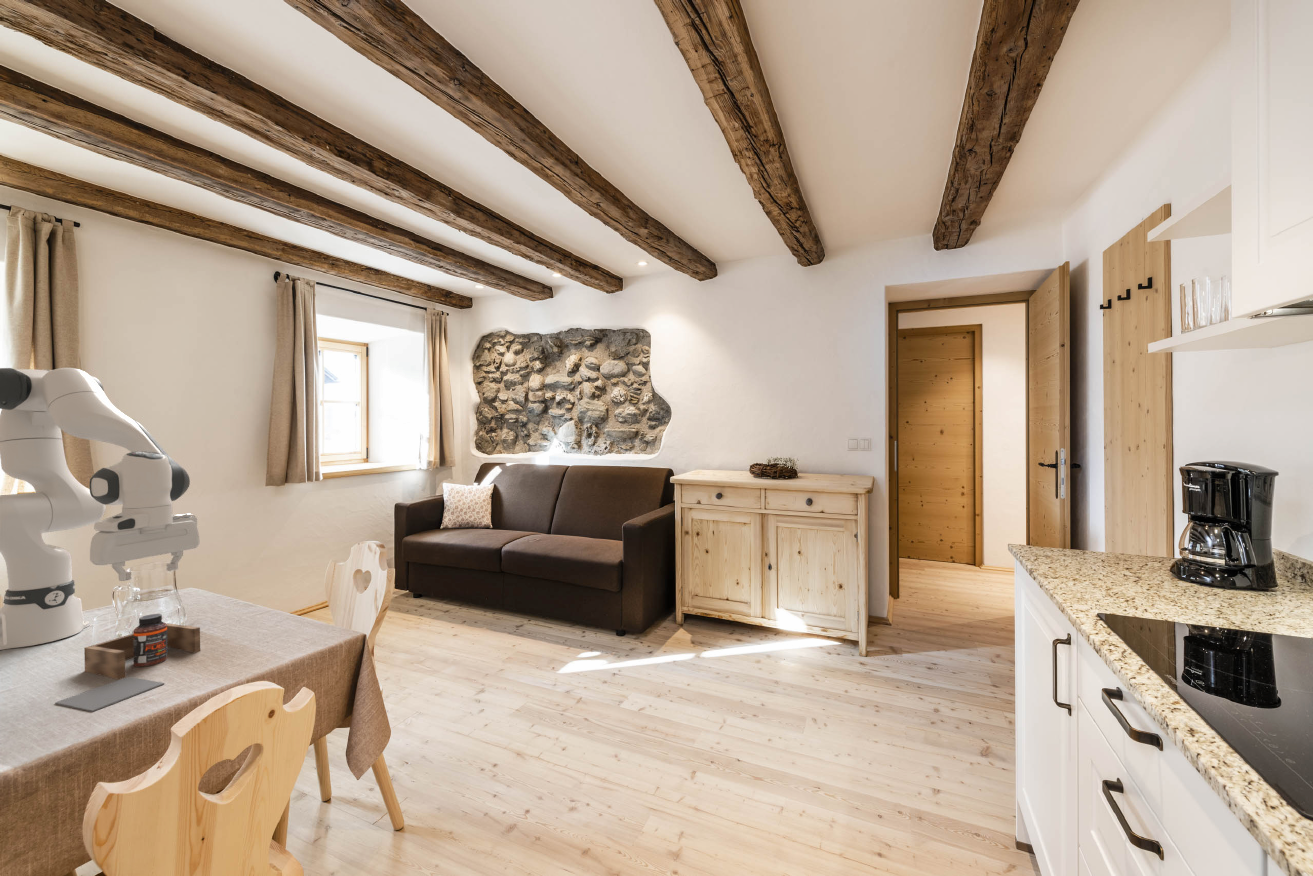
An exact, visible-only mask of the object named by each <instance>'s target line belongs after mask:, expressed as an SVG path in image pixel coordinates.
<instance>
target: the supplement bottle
mask: <svg viewBox="0 0 1313 876" xmlns="http://www.w3.org/2000/svg"><path fill="white" fill-rule="evenodd" d="M162 619H163V615H162V613H154V614H152V613H151V614H148V615H147V614H145V615H143V616H140V617H139V618H138V626H136V627H135V628H134V630H133V633H132V634H133V635H134V636H133V661H132V662H133V666H134V667H137V668H140V667H142V668H143V667H150V666H154V665H157V664H160V663H162V662H164V661H165V660H167V659H168V647H167V622H164V621H162Z"/></svg>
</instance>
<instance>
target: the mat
mask: <svg viewBox="0 0 1313 876" xmlns="http://www.w3.org/2000/svg"><path fill="white" fill-rule="evenodd" d="M164 685H165V682H162V681H161V682H160V681H155V680H150V679H145V678H139V677H133V676H125V678H122V679H119V680H118V679H116V680H114V681H112V682H110V683H106V684H103V685H100V686H97V687H95V688H92V689H90V690H86V691H84V692H81V693H78V694H75V695H72V696H70V697H69V696H68V697H67V698H64V699H61V700H58V701H55V702H54V704H55V705H57V706H63V707H67V708H73V709H77V710H80V711H81V710H82V711H87V712H90V713H94V712H96V711H99V710H101V709H105V708H107V707H109V706H112V705H114V704H117V703H119V702H123V701H125V700H127V699H129V698H133V697H135V696H138V695H140V694H143V693H145V692H148V691H150V690H154V689H156V688H158V687H161V686H164Z"/></svg>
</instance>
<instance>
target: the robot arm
mask: <svg viewBox="0 0 1313 876" xmlns="http://www.w3.org/2000/svg"><path fill="white" fill-rule="evenodd" d="M62 432H64V433H65V434H67V435H69V436H72V437H75V438H78V439H84V440H90V441H94V442H95V441H96V442H101V443H107V444H112V445H115V446H119V447H122V448H124V449H126V450H128V451H129V452H128V453H125V454H124V455H123V456H122V459H121V461H118V462H117V463H115V464H113V465H109V466H108V467H102V468H100V469H99V470H97V471H96V472H95V473H93V475H92V476H91V477H90V480H89V486H88V487H86V486H85V485H83V484H82V483H81V482H79V480H77V479H76V478H75V476H74V475H73V474H72V472H71V471H70V469H69V466H68V463H67V460H66V455H65V449H64V442H63V433H62ZM0 466H1V470H2V471H3V472H4V473H5V474H6V475H7V476H8V477H11V478H13V479H17V480H21V481H24V482H27V483H28V484H30V486H31V487H33V489H34V491H35V492H26V493H15V494H13V493H12V494H1V495H0V554H1V555H2V557H3V560H4V562H5V565H6V574H7V584H8V585H7V587H8V588H7V589H6V590H5V594H4V596H3V598H4V599H3V605H2V607H0V651H1V650H9V649H15V648H26V647H31V646H35V645H36V646H37V645H41V644H45V643H46V644H47V643H50V642H54V641H58V640H61V639H65V638H69V637H71V636H73V635H76V634H78V633H80V632H82V631H83V630H84V629H85V628H87V627H90V621H84V613H83V605H82V599H81V598H79V597H77V596H76V595H74V594H75V593H76V591H75V590H76V584H75V580H74V579H73V571H72V570H73V568H72V565H73V564H72V562H73V561H72V555H71V553H70V552H69V551H68V550H67V549H65V548H63V547H60V546H56V545H51V544H47V543H46V542H44V540H43V537H42V534H46V533H52V532H59V531H60V532H61V531H67V530H75V529H79V528H84V527H86V526H90V525H93V529H94V530H95V531H96V533H95V534H93V537H92V538H91V540H90V547H89V561H90V562H91V563H92V564H93V565H95V566H108V565H111V569H113V570H114V571H115V572H116V573H117V574H118V581H119V582H125V581H130V580H132V572H131V571H126V569H124V567H126V562H129V561H134V560H141V559H146V558H149V557H155V556H162V555H167V554H170V555H171V556H172V559H171V560H170V562H168V563H166V564H165V565H166V571H168V572H173V571H177V570H179V562H180V561H181V559H182V557H184V551H188V550H193V549H194V550H195V549H197V548H198V547H199V545H200V534H199V530H198V529H199V528H198V517H196V516H195V515H194V514H191V513H190V512H189V513H188V512H187V513H182V514H173V502H174V501H176V500H178V499H180V497H182V496H183V495H185V493H186V492H187V491H188V489H189V488H190V483H191V481H190V476H189V473H188V472H187V471H186V469H185V468H184V467H182V465H180V464H179V463H178V462H176V461H175V460H174V459H173V458H171V455H169V454H168V453H167V452H166V451H165V449H164V448H163V446H161V444H160V443H159V442H158V441H157V439H155V438H154V436H153V435H152V434H151V433H150V432H149V431H148V430H147V429H146V428H145V427H144V426H143V425H142V424H141V423H140V422H139V421H137V420H135V419H134V418H131V417H130V416H128V415H126V414H125V413H123V412H122V411H121V410H119V409H118V408H117V407H116V406H115V405H114V404H113V403H112V402H111V401H110V400H109V397H108V396H107V394H106V392H105V390H104V386H103V384H102V382H101V381H100V379H98V377H96V376H94V375H90V374H89V373H88V372H86V371H84V370H81V369H79V368H75V367H60V368H59V367H58V368H56V369H33V368H31V369H29V368H26V369H25V368H24V369H23V368H22V369H21V368H12V367H0ZM119 505H122V507H121V512H120V513H117V514H115V515H112V516H110V517H107V518H105V519H104V518H103V516H104V515H105V513H106V510H107V506H119ZM102 518H103V519H102Z"/></svg>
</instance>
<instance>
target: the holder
mask: <svg viewBox="0 0 1313 876" xmlns="http://www.w3.org/2000/svg"><path fill="white" fill-rule="evenodd" d="M166 624H167V648H170V649H175V650H180V651H186V652H190V653H193V654H194V653H199V652H200V651H201V628H200V627H199V626H191V625H183V624H176V623H167V622H166ZM133 636H134V635H133V633H129V634H128V635H123V636H121V637H117V638H114V639H113V638H112V639H110V640H107V641H103V642H99V643H97V644H92V645H89V646H86V647H84V654H83V655H84V672H85V673H90V674H94V675H98V676H102V677H107V678H110V679H111V678H112V679H115V680H120V679H123V678H126V661H127V660H129V659H132V658H133ZM133 659H134V658H133Z"/></svg>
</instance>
